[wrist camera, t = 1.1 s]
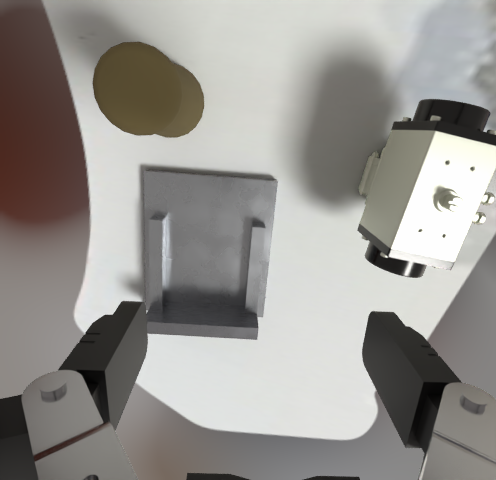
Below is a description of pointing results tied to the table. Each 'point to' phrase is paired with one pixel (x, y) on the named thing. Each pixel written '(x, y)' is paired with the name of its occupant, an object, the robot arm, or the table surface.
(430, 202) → the pneumatic valve
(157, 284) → the bracket
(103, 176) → the table surface
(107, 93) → the cork
